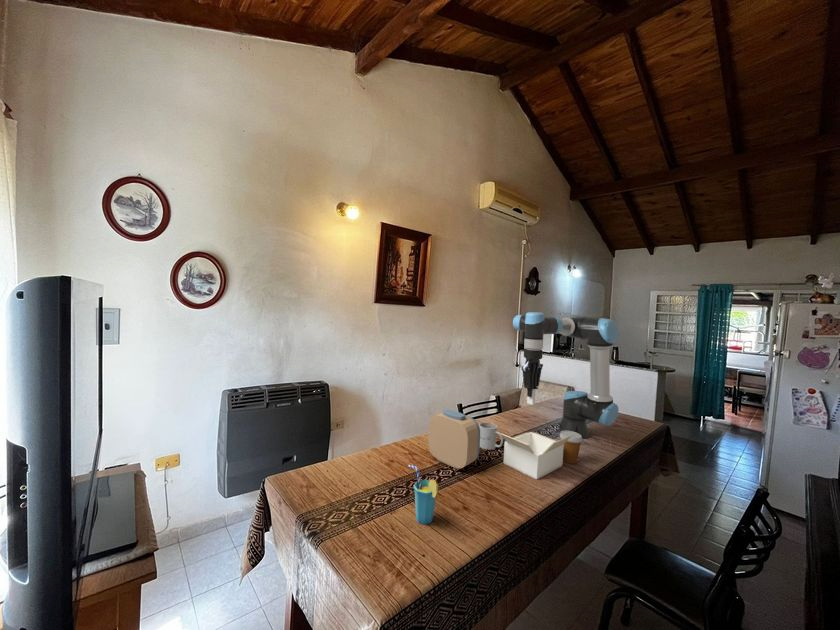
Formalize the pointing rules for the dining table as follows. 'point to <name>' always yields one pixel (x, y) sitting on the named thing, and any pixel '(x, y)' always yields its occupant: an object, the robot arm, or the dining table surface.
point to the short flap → (517, 443)
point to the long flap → (557, 444)
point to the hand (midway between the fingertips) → (530, 403)
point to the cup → (424, 498)
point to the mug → (489, 436)
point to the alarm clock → (454, 438)
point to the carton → (533, 455)
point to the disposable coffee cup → (571, 446)
